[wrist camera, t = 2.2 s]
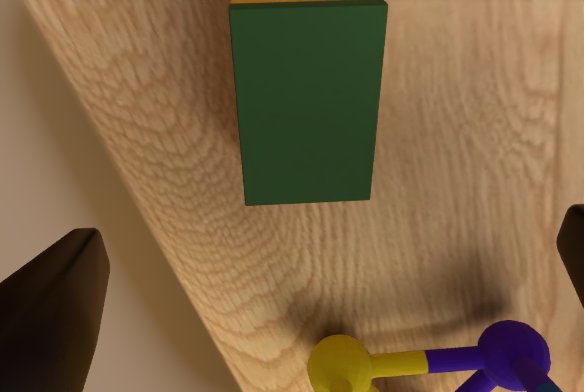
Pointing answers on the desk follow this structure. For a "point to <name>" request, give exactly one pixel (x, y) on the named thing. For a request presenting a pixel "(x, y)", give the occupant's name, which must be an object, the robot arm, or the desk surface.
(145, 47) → the desk surface
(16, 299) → the robot arm
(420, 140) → the desk surface
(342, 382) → the educational toy
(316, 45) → the sponge
